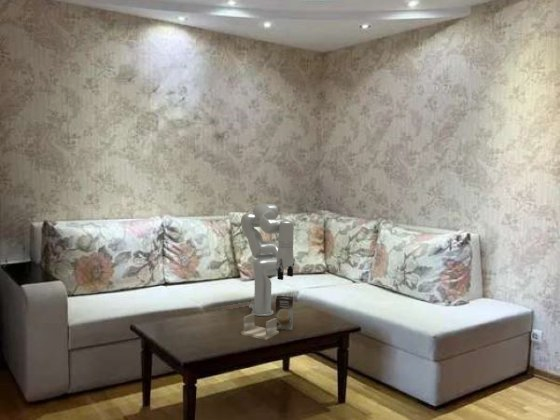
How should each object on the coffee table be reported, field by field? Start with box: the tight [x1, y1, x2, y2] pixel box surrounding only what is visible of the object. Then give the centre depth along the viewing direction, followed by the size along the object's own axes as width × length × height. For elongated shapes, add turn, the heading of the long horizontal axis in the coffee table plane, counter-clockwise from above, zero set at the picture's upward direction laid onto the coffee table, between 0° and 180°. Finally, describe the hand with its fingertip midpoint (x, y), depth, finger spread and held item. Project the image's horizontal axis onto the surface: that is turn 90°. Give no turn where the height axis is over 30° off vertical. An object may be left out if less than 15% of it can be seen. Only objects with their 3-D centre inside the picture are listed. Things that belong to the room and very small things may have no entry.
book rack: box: [240, 313, 280, 341], centre depth 252 cm, size 15×12×8 cm
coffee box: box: [274, 295, 295, 331], centre depth 262 cm, size 9×6×16 cm
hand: (285, 277), depth 260 cm, fingers open, 9 cm apart
